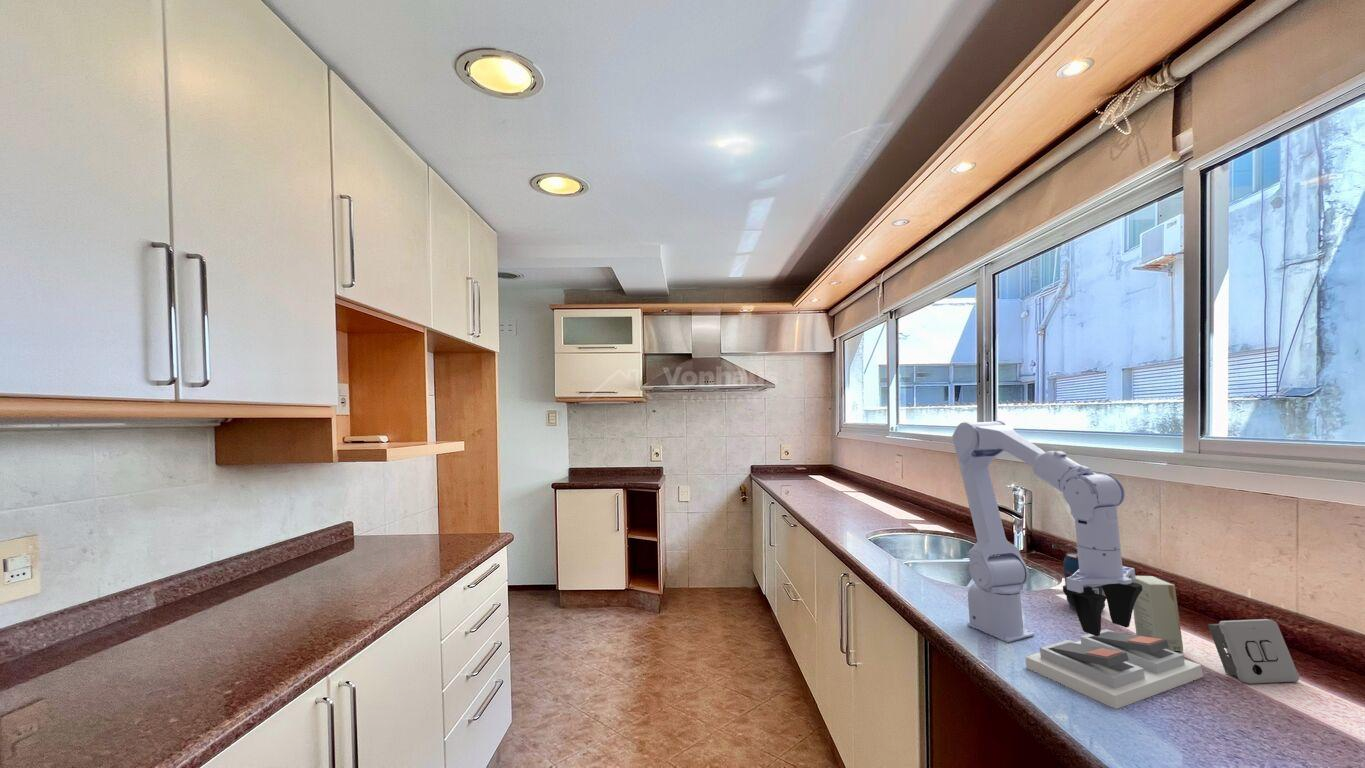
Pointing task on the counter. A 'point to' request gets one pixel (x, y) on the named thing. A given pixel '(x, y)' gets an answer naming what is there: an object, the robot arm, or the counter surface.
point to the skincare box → (1158, 611)
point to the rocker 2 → (1132, 642)
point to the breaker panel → (1116, 672)
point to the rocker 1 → (1091, 654)
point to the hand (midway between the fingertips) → (1106, 629)
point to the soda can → (1071, 567)
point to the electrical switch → (1254, 651)
